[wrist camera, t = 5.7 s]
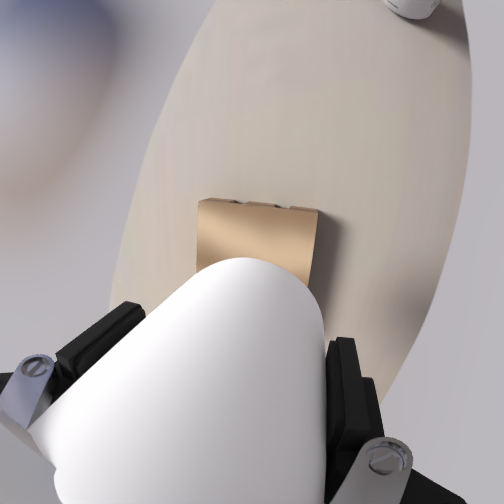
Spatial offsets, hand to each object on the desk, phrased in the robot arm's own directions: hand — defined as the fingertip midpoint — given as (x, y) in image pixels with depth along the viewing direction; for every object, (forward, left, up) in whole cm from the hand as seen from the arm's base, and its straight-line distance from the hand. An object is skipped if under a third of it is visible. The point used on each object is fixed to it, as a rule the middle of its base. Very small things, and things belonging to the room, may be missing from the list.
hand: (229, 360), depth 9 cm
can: (0, 0, -3) cm, 3 cm away
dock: (+3, -2, -18) cm, 19 cm away
